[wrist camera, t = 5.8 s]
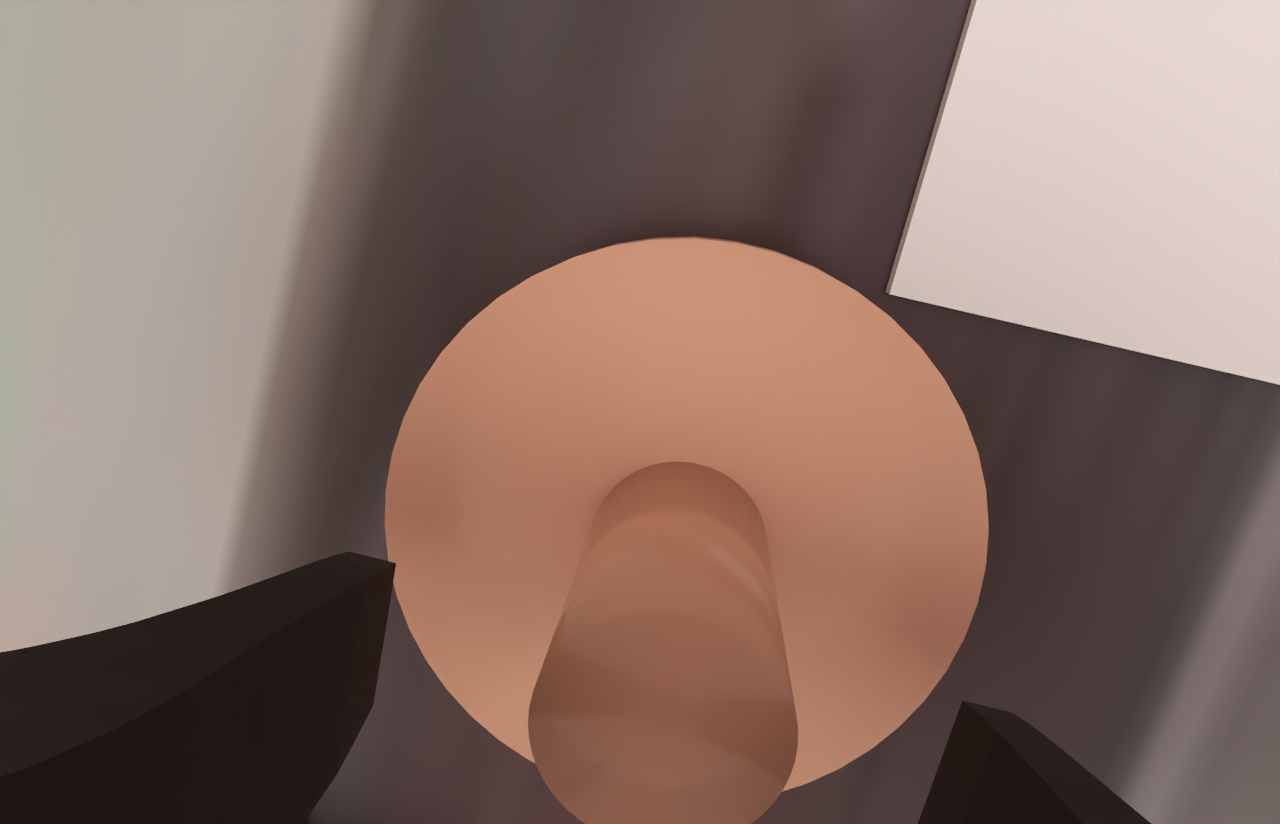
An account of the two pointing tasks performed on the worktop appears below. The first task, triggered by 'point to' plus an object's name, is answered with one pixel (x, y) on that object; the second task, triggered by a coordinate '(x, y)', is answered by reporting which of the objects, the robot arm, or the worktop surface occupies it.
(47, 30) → the worktop surface
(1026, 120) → the mat
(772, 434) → the lid
